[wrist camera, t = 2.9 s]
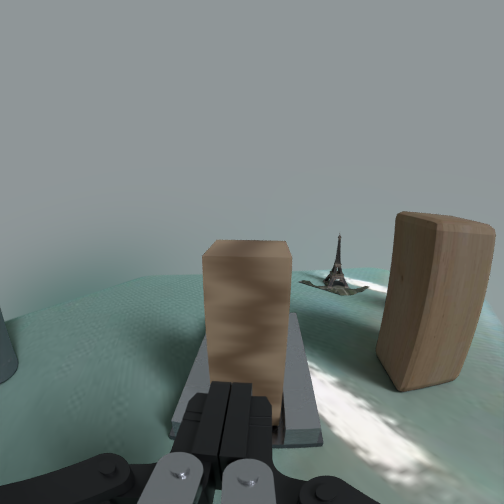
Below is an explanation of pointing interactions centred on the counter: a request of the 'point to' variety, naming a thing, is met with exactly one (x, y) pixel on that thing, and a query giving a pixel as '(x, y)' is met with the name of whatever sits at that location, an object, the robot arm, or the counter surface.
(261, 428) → the robot arm
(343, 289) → the eiffel tower figurine
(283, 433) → the chute
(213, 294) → the block
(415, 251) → the wooden block
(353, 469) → the counter surface
